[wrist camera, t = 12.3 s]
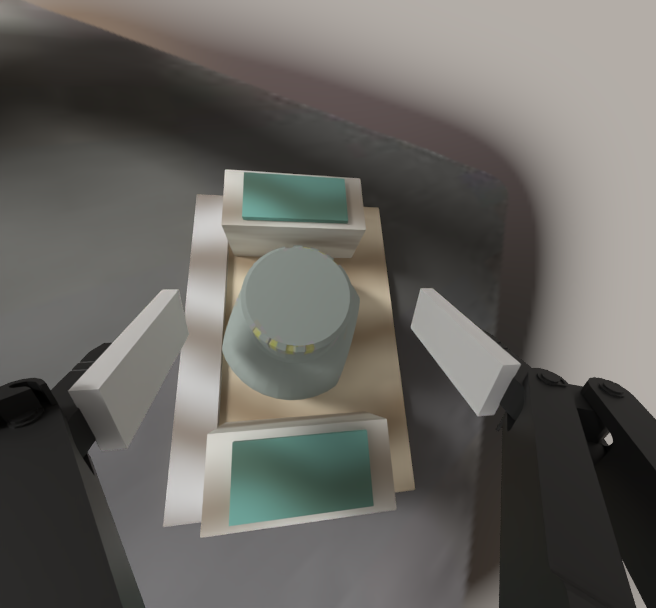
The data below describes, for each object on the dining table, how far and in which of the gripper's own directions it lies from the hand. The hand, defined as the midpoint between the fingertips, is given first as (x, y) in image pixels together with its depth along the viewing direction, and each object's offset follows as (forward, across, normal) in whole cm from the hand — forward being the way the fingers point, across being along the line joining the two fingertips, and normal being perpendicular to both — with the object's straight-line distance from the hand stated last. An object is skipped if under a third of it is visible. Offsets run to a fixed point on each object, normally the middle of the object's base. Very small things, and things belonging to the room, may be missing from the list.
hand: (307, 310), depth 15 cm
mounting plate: (+7, 0, -6) cm, 10 cm away
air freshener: (+7, 0, -6) cm, 9 cm away
